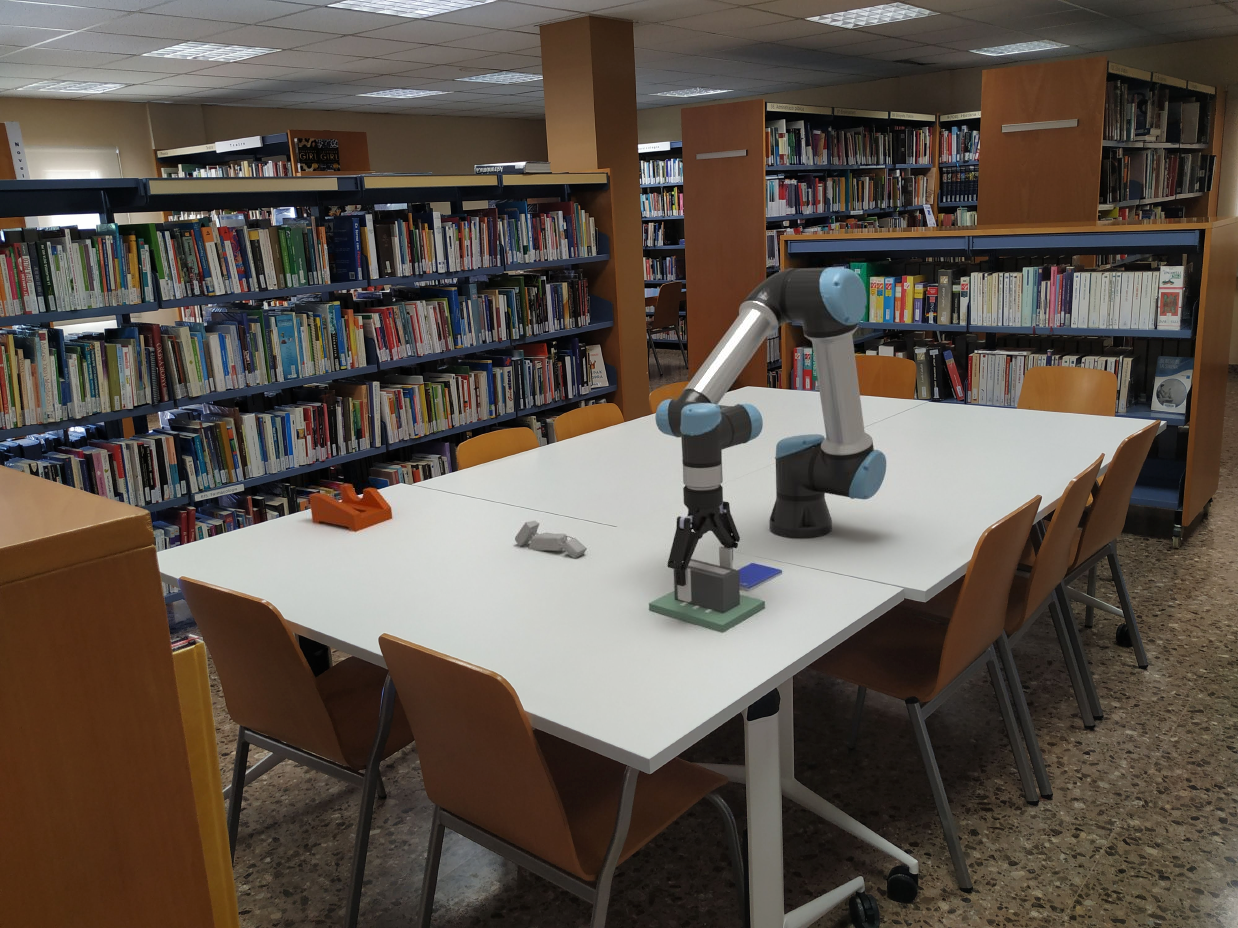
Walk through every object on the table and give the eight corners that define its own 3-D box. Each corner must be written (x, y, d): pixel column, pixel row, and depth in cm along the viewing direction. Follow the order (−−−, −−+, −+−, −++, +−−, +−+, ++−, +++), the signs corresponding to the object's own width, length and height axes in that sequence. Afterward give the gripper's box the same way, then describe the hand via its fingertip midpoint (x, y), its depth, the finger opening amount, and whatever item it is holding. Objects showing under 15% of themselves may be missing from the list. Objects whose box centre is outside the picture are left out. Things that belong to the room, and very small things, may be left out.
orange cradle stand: (313, 523, 256) (309, 494, 254) (349, 511, 266) (346, 483, 264) (355, 533, 246) (352, 503, 244) (392, 520, 256) (389, 490, 254)
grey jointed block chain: (513, 544, 228) (513, 519, 226) (524, 540, 231) (523, 514, 229) (577, 566, 217) (577, 539, 214) (587, 561, 219) (587, 534, 217)
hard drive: (748, 586, 192) (782, 569, 200) (716, 578, 197) (751, 562, 206) (748, 594, 192) (782, 576, 201) (717, 585, 197) (751, 568, 206)
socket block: (691, 591, 190) (690, 557, 188) (739, 604, 182) (739, 569, 180) (674, 599, 186) (673, 564, 184) (723, 612, 178) (723, 577, 176)
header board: (692, 588, 195) (691, 563, 194) (764, 607, 183) (764, 581, 182) (649, 610, 185) (647, 584, 184) (722, 632, 173) (722, 604, 172)
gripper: (725, 468, 189) (727, 566, 194) (645, 497, 171) (650, 605, 177) (756, 473, 184) (757, 573, 189) (677, 504, 166) (681, 614, 172)
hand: (706, 589), depth 183 cm, fingers open, 13 cm apart
